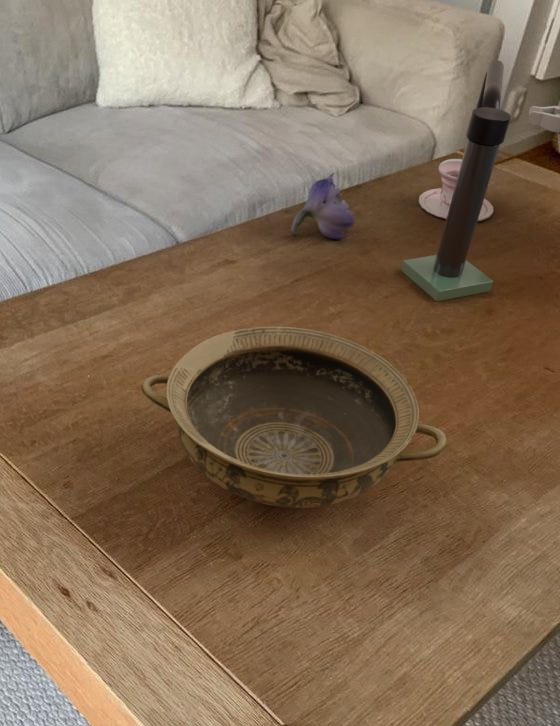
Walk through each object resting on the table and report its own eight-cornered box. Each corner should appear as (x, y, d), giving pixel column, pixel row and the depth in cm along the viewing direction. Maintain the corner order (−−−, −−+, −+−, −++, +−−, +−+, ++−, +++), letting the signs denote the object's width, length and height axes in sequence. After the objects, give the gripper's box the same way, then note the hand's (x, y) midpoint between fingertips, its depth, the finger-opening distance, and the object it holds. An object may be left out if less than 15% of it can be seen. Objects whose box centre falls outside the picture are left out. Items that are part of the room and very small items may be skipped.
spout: (485, 208, 105) (510, 122, 98) (449, 202, 106) (471, 116, 99) (493, 131, 126) (515, 56, 119) (463, 126, 127) (483, 51, 120)
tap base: (452, 261, 120) (491, 124, 107) (490, 291, 114) (536, 149, 101) (400, 270, 117) (433, 130, 104) (436, 301, 111) (476, 157, 98)
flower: (295, 206, 116) (350, 165, 116) (271, 206, 123) (323, 167, 124) (325, 261, 120) (378, 222, 120) (300, 258, 127) (350, 220, 128)
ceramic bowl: (436, 432, 90) (460, 356, 84) (415, 591, 73) (443, 513, 67) (177, 375, 96) (180, 300, 89) (101, 512, 79) (97, 432, 72)
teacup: (414, 188, 138) (423, 152, 134) (486, 195, 138) (496, 158, 134) (421, 220, 130) (431, 181, 125) (498, 226, 129) (510, 188, 125)
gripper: (622, 177, 115) (521, 161, 117) (612, 128, 129) (523, 114, 132) (641, 131, 110) (535, 115, 113) (629, 86, 125) (536, 72, 127)
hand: (528, 114), depth 122 cm, fingers closed
